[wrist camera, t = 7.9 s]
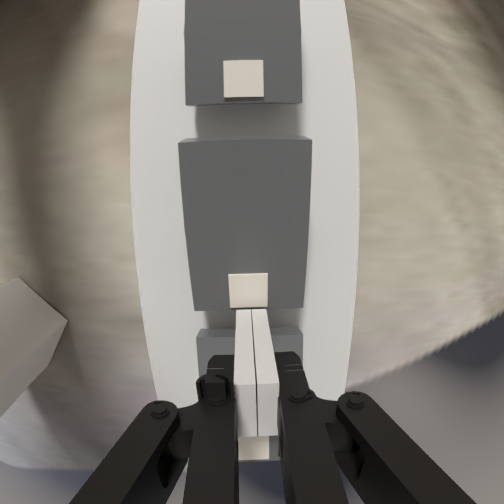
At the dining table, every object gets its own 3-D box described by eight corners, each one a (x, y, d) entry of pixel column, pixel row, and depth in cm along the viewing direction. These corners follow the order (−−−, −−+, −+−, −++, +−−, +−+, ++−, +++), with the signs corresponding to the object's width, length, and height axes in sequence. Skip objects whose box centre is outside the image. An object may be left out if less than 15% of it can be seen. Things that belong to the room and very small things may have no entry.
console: (159, 22, 21) (137, -20, 14) (329, 19, 22) (353, -22, 15) (177, 393, 28) (163, 442, 21) (329, 388, 29) (348, 435, 22)
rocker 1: (189, -23, 14) (182, -40, 11) (294, -25, 14) (301, -42, 11) (189, 107, 17) (181, 105, 15) (297, 104, 17) (306, 103, 15)
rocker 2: (198, 326, 20) (192, 338, 17) (299, 323, 20) (307, 334, 17) (208, 442, 20) (204, 463, 17) (296, 439, 20) (302, 459, 18)
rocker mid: (183, 137, 16) (172, 143, 13) (305, 135, 16) (317, 140, 14) (195, 287, 20) (190, 312, 17) (299, 284, 20) (307, 309, 17)
